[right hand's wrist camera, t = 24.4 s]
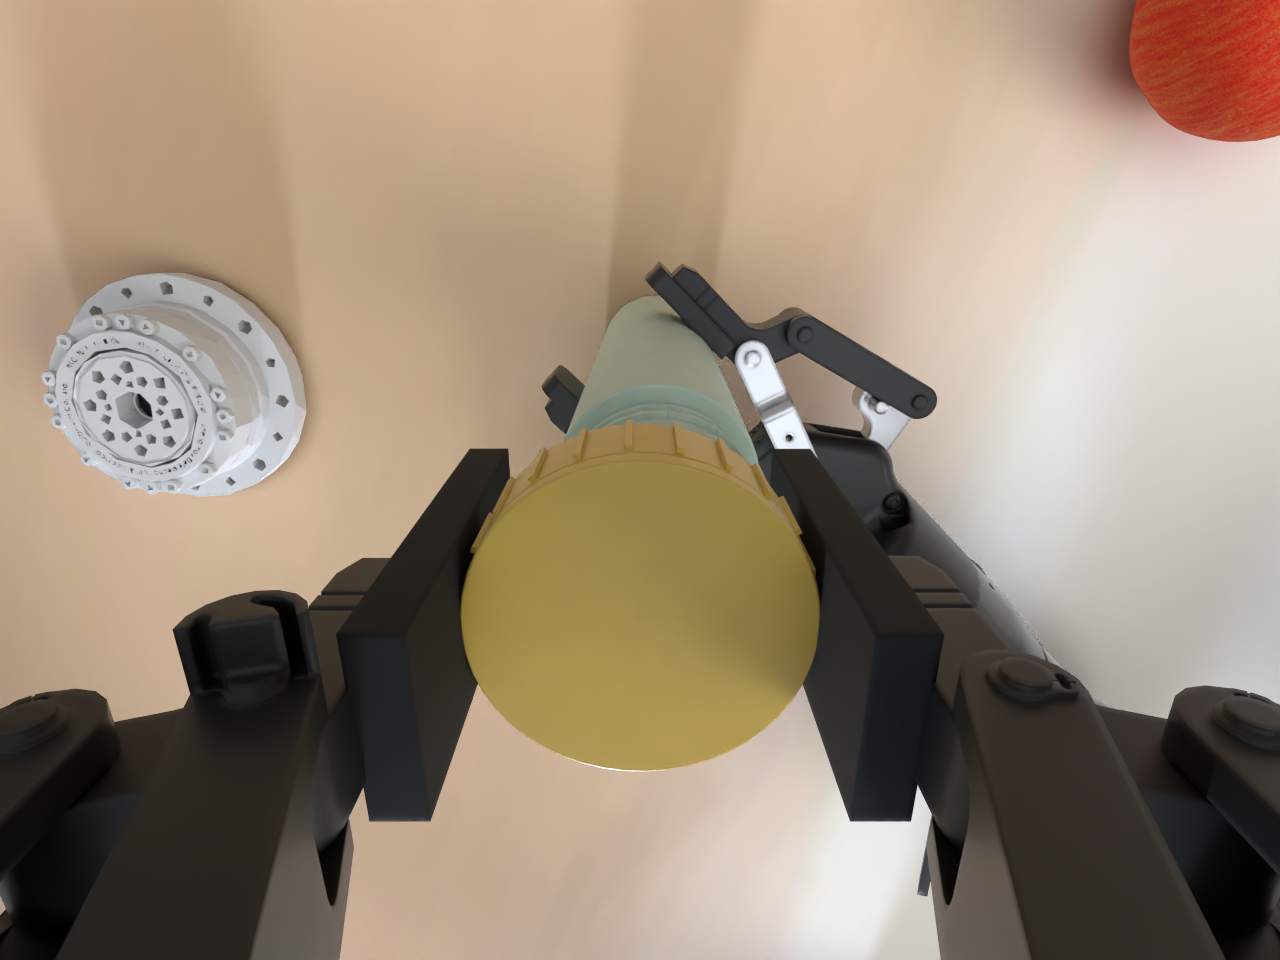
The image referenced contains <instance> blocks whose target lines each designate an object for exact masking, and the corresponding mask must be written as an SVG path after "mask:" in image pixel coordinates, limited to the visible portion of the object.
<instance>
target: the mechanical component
mask: <svg viewBox="0 0 1280 960" xmlns="http://www.w3.org/2000/svg"><path fill="white" fill-rule="evenodd" d="M56 343H57V345H56V347H55V349H54V351H53V353H52V355H51V358H50V362H49V369H48V371H46V372H44V373H43V374H41V378H42V381H43V382H44V384H45V385H48V390H49V393H46V394H44V400H43V402H44V403H45V404H46V405H47V406H48V407H52V409H53V411H54V413H55V415H54V416H52V417H51V424H52V425H53V426H54V427H55V428H58V429H61V430H62V432H63V433H64V434H65V436H66V437H67V438H68V439H69V441H70V442H71V443H72V444H73V446H74V447H75V448H76V449H77V451H78V452H79V453H80V454H81V457H80V460H81V461H82V463H83V464H84V465H85V466H93V465H94V466H95V467H96V468H98V469H99V470H100V471H101V472H103V473H105V474H107V475H109V476H110V477H112V478H114V479H116V480H118V481H120V482H121V483H122V485H123V486H124V488H126V489H129V490H131V489H133V488H136V487H137V488H140V489H144V490H145V491H146V492H147V493H148V494H155V493H157V492H158V491H162V492H169V493H171V494H174V493H181V494H188V495H194V496H218V495H229V494H231V493H234V492H237V491H239V490H242V489H245V488H247V487H250V486H253V485H255V484H257V483H258V482H260V481H261V480H263V479H264V478H266V477H267V476H268V475H270V474H271V473H273V472H274V471H275V470H276V469H277V468H278V467H279V466H280V465H282V464H283V463H284V462H285V461H286V460H287V459H288V458H289V456H290V454H291V453H292V451H293V450H294V448H295V446H296V445H297V443H298V441H299V439H300V435H301V431H302V428H303V424H304V420H305V416H306V412H307V409H306V400H305V392H304V383H303V376H302V373H301V370H300V368H299V365H298V362H297V359H296V356H295V355H294V353H293V351H292V350H291V348H290V346H289V345H288V343H287V341H286V340H285V338H284V336H283V335H282V333H281V331H280V330H279V328H278V327H277V326H276V325H275V324H274V323H273V322H272V321H271V320H270V319H269V318H268V317H267V316H266V315H265V314H264V313H263V312H262V311H261V310H260V309H259V308H258V307H257V306H256V305H255V304H254V303H252V302H251V301H249V300H248V299H246V298H244V297H243V296H241V295H240V294H238V293H237V292H235V291H233V290H232V289H230V288H229V287H227V286H225V285H224V284H222V283H220V282H216V281H213V280H209V279H205V278H202V277H198V276H194V275H191V274H187V273H164V272H159V273H151V274H143V275H135V276H132V277H129V278H126V279H122V280H119V281H116V282H113V283H110V284H107V285H106V286H105V287H103V288H102V289H101V290H99V291H98V292H97V293H96V294H94V295H93V296H92V297H91V298H89V299H88V300H87V301H86V302H85V304H84V305H83V306H82V308H81V309H80V311H79V312H78V313H77V315H76V316H75V318H74V320H73V322H72V325H71V328H70V329H69V330H68V331H67V332H66V333H65V334H61V335H58V336H57V339H56Z"/></svg>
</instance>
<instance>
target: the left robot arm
mask: <svg viewBox="0 0 1280 960" xmlns="http://www.w3.org/2000/svg"><path fill="white" fill-rule="evenodd" d="M645 280H646V281H647V282H648V283H649V285H650V286H651V287H652V288H653V289H654V290H655V291H656V292H657V293H658V294H659V295H660V296H661V297H662V298H663V299H664V300H665V302H666V303H667V304H668V305H669V306H670V307H671V308H672V309H673V310H674V311H675V312H676V313H677V314H678V315H679V316H680V317H681V318H682V319H683V320H684V321H685V322H686V323H687V324H688V325H689V326H690V327H691V328H692V329H693V330H694V331H695V333H696V334H697V335H699V336H700V337H701V338H702V339H703V340H704V341H705V342H706V343H707V345H708V346H709V347H710V348H711V349H712V350H713V351H714V352H715V353H716V354H717V355H718V356H719V357H720V358H721V359H723V358H724V357H725V356H727V357H728V358H729V359H730V360H731V361H732V362H733V363H734V364H735V367H736V369H737V371H738V373H739V375H740V377H741V379H742V382H743V384H744V386H745V388H746V390H747V392H748V395H749V397H750V399H751V401H752V404H753V406H754V408H755V410H756V412H757V414H758V417H759V419H760V421H761V422H760V423H759V424H758V425H757V426H755V427H754V428H753V429H752V430H751V431H750V432H749V436H750V438H751V440H752V443H753V445H754V448H755V451H756V454H757V459H758V464H759V466H760V468H761V470H762V472H763V474H764V476H765V478H766V480H767V482H768V483H769V485H770V475H771V461H772V449H811V450H812V451H813V453H814V454H815V456H816V457H817V458H818V460H819V461H820V463H821V464H822V465H823V467H824V468H825V469H826V471H827V472H828V474H829V475H830V476H831V478H832V479H833V480H834V482H835V483H836V485H837V486H838V487H839V489H840V490H841V492H842V493H843V494H844V496H845V497H846V498H847V500H848V501H849V503H850V504H851V505H852V507H853V508H854V510H855V511H856V512H857V514H858V515H859V516H860V518H861V519H862V521H863V522H864V523H865V525H866V526H867V528H868V529H869V530H870V532H871V533H872V534H873V536H874V537H875V539H876V540H877V541H878V543H879V544H880V546H881V547H882V548H883V550H884V551H885V552H886V554H887V555H888V556H919V557H921V558H923V559H925V560H926V561H928V562H930V563H931V564H933V565H935V566H936V567H938V568H940V569H941V570H943V571H945V573H946V574H947V575H948V576H949V577H950V578H951V580H952V581H953V582H954V583H955V584H956V586H957V587H958V588H959V589H960V593H963V594H964V595H965V596H966V597H967V599H968V600H969V601H970V602H971V603H972V607H973V608H976V609H977V610H978V611H979V613H980V614H981V615H982V616H983V617H984V619H985V620H986V621H987V622H988V623H989V624H990V626H991V627H992V628H993V629H994V630H995V631H996V633H997V634H998V635H999V636H1000V637H1001V639H1002V640H1003V641H1004V642H1005V643H1006V644H1007V646H1008V647H1009V648H1010V649H1011V650H1012V651H1016V652H1020V653H1024V654H1029V655H1033V656H1036V657H1039V658H1041V659H1043V660H1046V661H1048V662H1050V663H1053V664H1055V665H1058V666H1059V667H1061V668H1062V669H1064V668H1063V667H1062V666H1061V665H1060V664H1059V663H1058V662H1057V661H1056V660H1055V659H1054V657H1053V656H1052V655H1051V654H1050V653H1049V652H1048V651H1047V650H1046V649H1045V648H1044V647H1043V646H1042V645H1041V644H1040V643H1039V642H1038V641H1037V639H1036V638H1035V637H1034V636H1033V634H1032V633H1031V632H1030V631H1029V629H1028V628H1027V626H1026V625H1025V623H1024V622H1023V620H1022V619H1021V617H1020V615H1019V614H1018V613H1017V611H1016V610H1015V608H1014V607H1013V606H1012V604H1011V603H1010V602H1009V601H1008V600H1007V598H1006V597H1005V596H1004V595H1003V594H1002V593H1001V591H1000V590H999V589H998V588H997V587H996V586H995V585H994V584H993V583H992V582H991V581H990V580H989V579H988V578H987V576H986V574H985V573H984V571H983V570H982V568H981V567H980V566H979V565H978V564H977V563H975V562H974V561H973V560H971V559H970V558H969V557H968V556H967V555H966V554H965V553H964V552H963V551H962V550H961V549H960V548H959V547H958V546H957V545H956V543H955V542H954V541H953V540H952V539H951V538H950V537H949V536H948V535H947V534H946V533H945V532H944V531H943V530H942V529H941V527H940V526H939V525H938V524H937V523H936V522H935V521H934V520H933V519H932V518H931V517H930V516H929V515H928V514H927V513H926V511H925V510H924V509H923V508H922V507H921V506H920V505H919V504H918V503H917V502H916V501H915V500H914V499H913V498H912V497H911V496H910V494H909V493H908V492H907V491H906V490H905V489H904V488H903V487H902V486H901V485H900V484H899V483H898V482H897V480H896V477H895V475H894V472H893V465H892V460H891V457H890V455H889V453H888V451H887V450H888V449H889V448H890V446H891V445H892V444H893V442H894V441H895V439H896V438H897V437H898V435H899V434H900V433H901V431H902V430H903V428H904V427H905V426H906V424H907V423H908V422H909V420H910V419H911V418H913V419H921V418H924V417H926V416H928V415H929V414H930V413H931V412H932V411H933V410H934V408H935V406H936V403H937V397H936V394H935V392H934V390H933V389H931V388H930V387H928V386H927V385H925V384H924V383H922V382H921V381H919V380H917V379H916V378H914V377H913V376H911V375H909V374H908V373H906V372H905V371H903V370H901V369H900V368H898V367H896V366H895V365H893V364H891V363H890V362H888V361H886V360H884V359H883V358H881V357H879V356H878V355H876V354H874V353H873V352H871V351H869V350H868V349H866V348H864V347H863V346H861V345H859V344H858V343H856V342H854V341H853V340H851V339H849V338H848V337H846V336H844V335H843V334H841V333H839V332H838V331H836V330H834V329H833V328H831V327H829V326H828V325H826V324H824V323H823V322H821V321H819V320H818V319H816V318H814V317H813V316H811V315H809V314H808V313H806V312H804V311H803V310H801V309H799V308H795V307H792V308H787V309H785V310H783V311H782V312H781V313H780V314H779V315H778V316H776V317H774V318H772V319H770V320H767V321H765V322H763V323H759V324H751V323H748V322H745V321H744V320H742V319H741V318H740V317H739V316H738V315H737V314H736V313H735V312H734V311H733V310H732V309H731V307H730V306H729V305H728V304H727V303H726V302H725V301H724V300H723V299H722V298H721V297H720V296H719V295H718V294H717V293H716V291H715V290H714V289H713V288H712V287H711V286H710V285H709V284H708V283H707V282H706V281H705V280H704V279H703V278H702V277H701V275H700V274H699V273H698V272H697V271H696V270H694V269H692V268H690V267H688V266H685V265H683V264H681V265H680V266H679V267H678V268H677V269H676V270H675V271H674V272H673V273H672V274H671V273H670V272H669V271H668V270H667V269H666V268H665V267H664V266H663V265H662V264H661V263H660V262H659V263H658V264H657V265H656V266H655V267H654V268H653V269H652V270H651V271H650V272H649V273H648V274H647V275H646V278H645ZM796 353H801V354H803V355H804V356H806V357H808V358H810V359H811V360H813V361H815V362H816V363H818V364H820V365H821V366H823V367H825V368H827V369H828V370H830V371H832V372H833V373H835V374H837V375H838V376H840V377H842V378H844V379H845V380H847V381H849V382H850V383H852V384H854V385H856V388H855V390H854V391H853V395H852V402H853V404H854V406H855V407H856V408H857V409H858V410H859V411H860V412H861V413H862V415H863V417H864V426H863V429H862V430H861V431H856V430H850V429H843V428H837V427H831V426H824V425H818V424H811V423H805V422H802V421H801V419H800V417H799V415H798V412H797V410H796V408H795V406H794V404H793V402H792V400H791V398H790V396H789V394H788V392H787V390H786V388H785V386H784V383H783V381H782V379H781V377H780V374H779V372H778V370H777V368H776V365H775V363H776V362H779V361H781V360H783V359H785V358H788V357H790V356H792V355H794V354H796ZM584 387H585V386H584V385H583V384H582V383H581V382H580V381H579V380H578V379H577V378H576V377H575V376H574V375H573V374H572V373H571V372H570V371H569V370H567V369H566V368H565V367H563V366H561V365H559V366H558V367H557V368H556V369H555V370H554V371H553V372H552V374H551V375H550V376H549V377H548V378H547V379H546V380H545V382H544V384H543V385H542V389H543V391H544V392H545V394H546V395H547V396H548V397H549V398H550V399H549V401H548V403H547V405H546V407H545V409H546V411H547V413H548V415H549V417H550V419H551V421H552V422H553V423H554V424H555V425H556V426H557V427H558V428H559V429H560V430H562V431H563V432H564V433H565V434H567V431H568V429H569V426H570V424H571V421H572V418H573V416H574V413H575V411H576V408H577V405H578V403H579V400H580V398H581V395H582V392H583V390H584ZM1064 670H1065V669H1064ZM1065 671H1066V670H1065ZM1088 692H1089V691H1088ZM1089 693H1090V692H1089ZM1090 695H1091V697H1092V699H1093V701H1094V703H1095V704H1096V705H1100V706H1104V707H1108V708H1113V707H1111V706H1110V705H1108V704H1107V703H1105V702H1104V701H1102V700H1101V699H1099V698H1097V697H1096V696H1094V695H1093V694H1092V693H1090ZM1113 709H1115V708H1113ZM1276 907H1277V908H1278V909H1279V910H1280V898H1279V900H1278V902H1277V905H1276Z"/></svg>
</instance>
